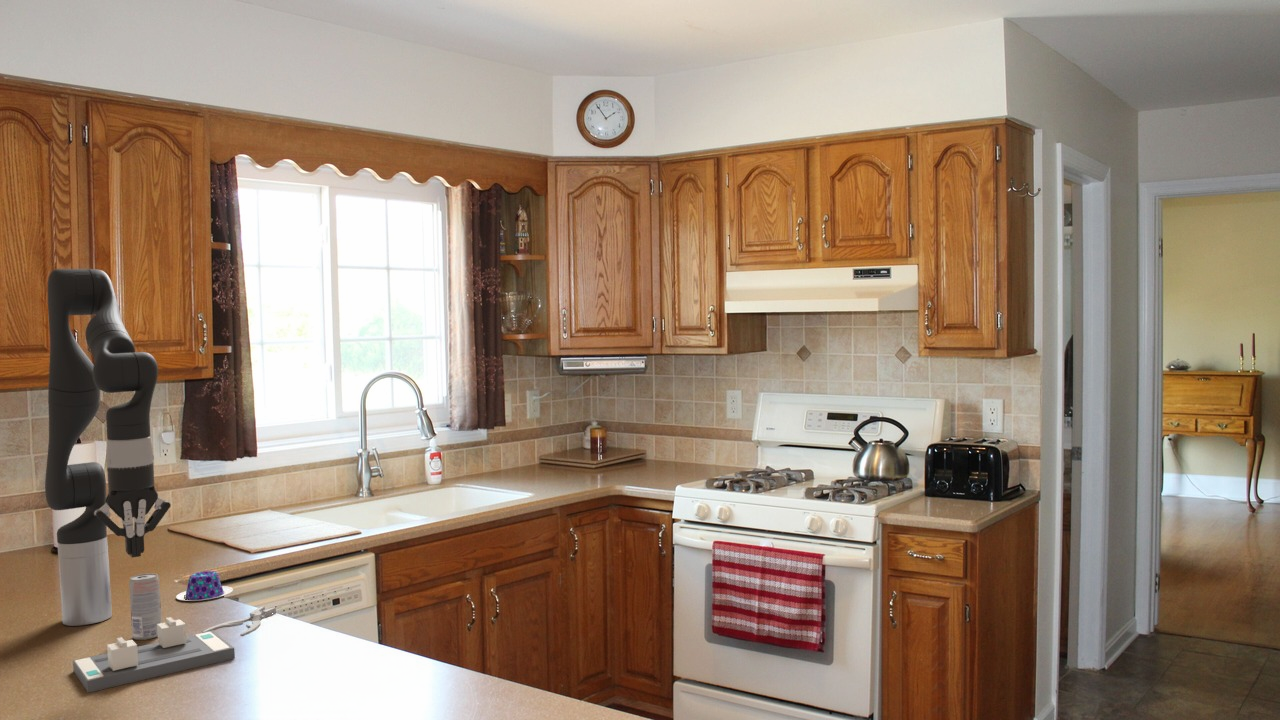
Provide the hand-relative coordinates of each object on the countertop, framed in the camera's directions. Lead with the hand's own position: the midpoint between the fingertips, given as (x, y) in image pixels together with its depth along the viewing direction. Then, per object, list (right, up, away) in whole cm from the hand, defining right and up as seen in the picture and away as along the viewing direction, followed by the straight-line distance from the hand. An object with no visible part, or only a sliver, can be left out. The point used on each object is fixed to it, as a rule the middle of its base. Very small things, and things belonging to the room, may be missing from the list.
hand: (135, 556), depth 184 cm
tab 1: (+2, -18, -8) cm, 19 cm away
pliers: (+12, -19, +23) cm, 32 cm away
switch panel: (+4, -20, -1) cm, 20 cm away
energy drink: (-6, -19, +16) cm, 26 cm away
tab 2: (+5, -17, +4) cm, 18 cm away
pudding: (-7, -18, +46) cm, 50 cm away
